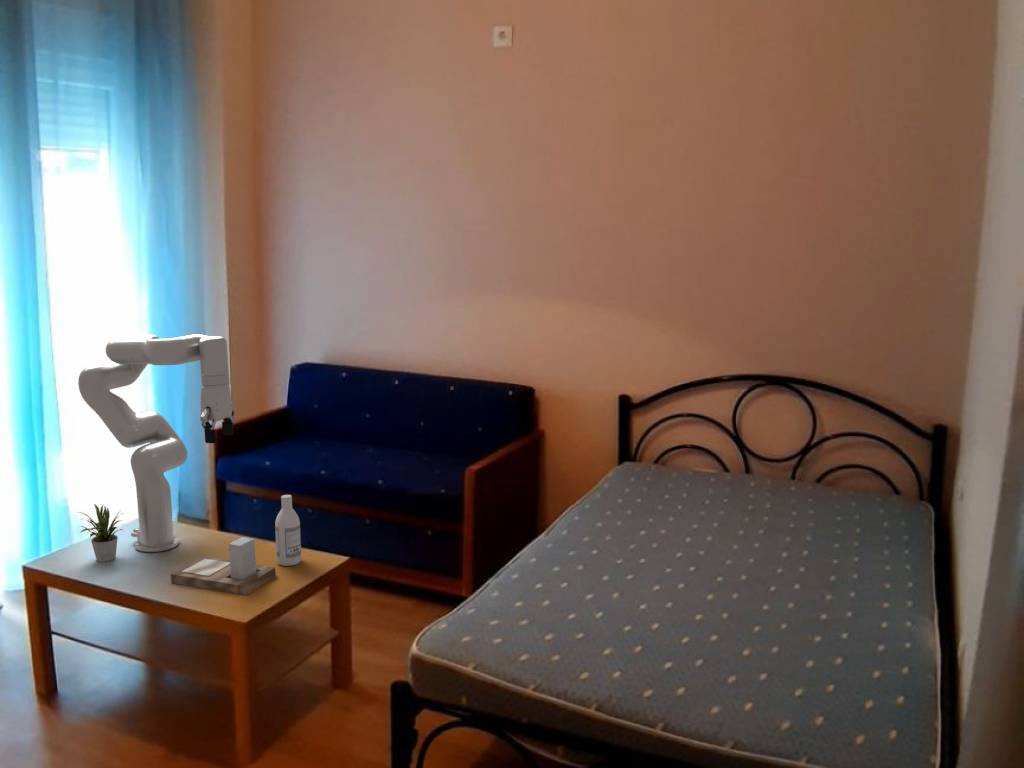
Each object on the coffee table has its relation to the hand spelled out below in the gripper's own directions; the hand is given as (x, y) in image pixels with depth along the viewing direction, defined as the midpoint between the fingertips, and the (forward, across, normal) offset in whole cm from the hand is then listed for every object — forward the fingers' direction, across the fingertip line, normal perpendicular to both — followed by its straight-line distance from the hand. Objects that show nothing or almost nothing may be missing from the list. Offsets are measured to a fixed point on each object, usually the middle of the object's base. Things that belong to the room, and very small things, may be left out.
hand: (219, 438), depth 266 cm
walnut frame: (+36, +15, +7) cm, 40 cm away
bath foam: (+36, -1, +19) cm, 41 cm away
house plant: (+35, +8, -36) cm, 51 cm away
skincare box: (+36, +16, +13) cm, 42 cm away
